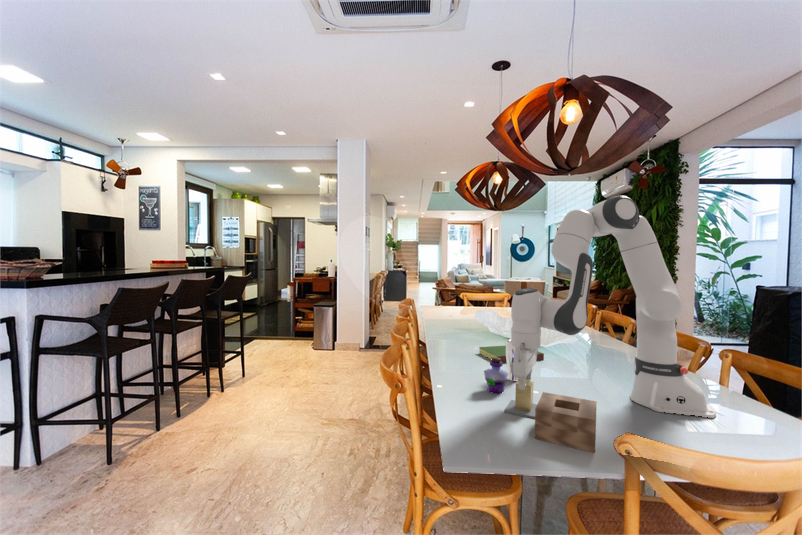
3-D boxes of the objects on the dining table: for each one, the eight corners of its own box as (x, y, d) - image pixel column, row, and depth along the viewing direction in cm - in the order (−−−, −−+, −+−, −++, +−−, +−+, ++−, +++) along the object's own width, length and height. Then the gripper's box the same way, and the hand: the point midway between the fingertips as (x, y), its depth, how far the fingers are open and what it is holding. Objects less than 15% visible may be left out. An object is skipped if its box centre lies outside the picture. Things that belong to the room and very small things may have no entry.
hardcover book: (498, 364, 167) (498, 356, 167) (478, 354, 185) (478, 347, 185) (545, 361, 174) (545, 353, 173) (521, 351, 192) (522, 344, 192)
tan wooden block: (532, 406, 116) (533, 381, 116) (530, 412, 112) (530, 386, 112) (518, 404, 118) (518, 379, 118) (515, 408, 114) (515, 383, 114)
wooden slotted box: (595, 429, 102) (596, 401, 102) (594, 452, 89) (595, 420, 89) (542, 418, 108) (543, 392, 108) (534, 438, 96) (535, 408, 96)
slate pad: (543, 407, 117) (543, 405, 117) (538, 419, 108) (538, 417, 108) (511, 401, 122) (511, 399, 122) (504, 412, 113) (504, 410, 113)
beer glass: (524, 383, 140) (525, 344, 140) (505, 381, 142) (506, 343, 142) (522, 377, 147) (523, 340, 147) (504, 376, 149) (505, 339, 148)
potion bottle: (481, 393, 129) (482, 359, 128) (485, 385, 137) (485, 354, 136) (507, 397, 126) (507, 362, 125) (509, 388, 134) (509, 356, 134)
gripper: (530, 348, 104) (530, 396, 104) (541, 335, 122) (540, 377, 122) (508, 345, 107) (507, 392, 107) (521, 333, 125) (520, 374, 125)
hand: (525, 384), depth 115 cm, fingers open, 8 cm apart
